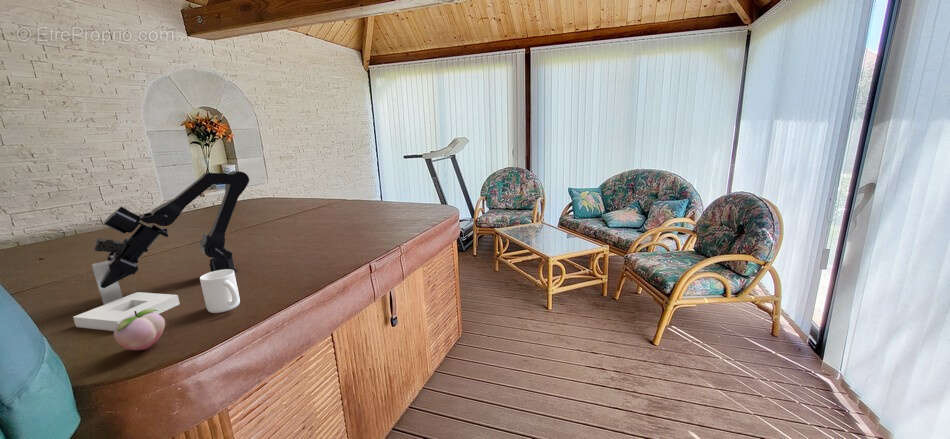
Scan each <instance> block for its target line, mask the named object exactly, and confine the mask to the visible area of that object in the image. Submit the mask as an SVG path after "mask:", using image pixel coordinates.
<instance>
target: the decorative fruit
mask: <svg viewBox="0 0 950 439" xmlns="http://www.w3.org/2000/svg"><path fill="white" fill-rule="evenodd" d="M153 311H158V310H156V309H146V310H143V311H140V312H138V313H136V311H134V313H135V314H134V315H131V316H129V317H127V318H125V319H123V320H122V321H121V322H120V323H119V324H118V325H117V326H116V328H115V330H114V331H113V338H114V340H115V342H116V343H117V344H118V345H119V346H121V347H122V348H124V349H126V350H129V351H144V350H147V349H149V348H150V347H152V345H154V344H155V343H156V342H157V341H158V340H159V339H160V338H161V336H162V334H163V332H164V330H165V327H166V320H165V318H164V317H163V316H162V315H161V314H157V313H153Z"/></svg>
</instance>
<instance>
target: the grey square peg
mask: <svg viewBox="0 0 950 439" xmlns="http://www.w3.org/2000/svg"><path fill="white" fill-rule="evenodd" d="M111 261H112V260H110V261H108V260H105V261H100V262H95V263H92V264H91V266H92V271H93V275H94V277H95V280H96V285H97V287H98V290H99V295H100V297H101V298H100V299H101V301H102V303H103V305H105V304H108V303H110V302H113V301H115V300H118V299H121V298H123V297H124V296H123V293H122V289H121V287H120V283H119V281H117V282H115V283H113V284H111V285H109V286H108V287H106V288H102V287H100V286H101V284H102V282H103V281H104V279H105V278H106V276H107V274H108V273H109V271H110V268H109V263H110V262H111Z"/></svg>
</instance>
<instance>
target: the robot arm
mask: <svg viewBox="0 0 950 439" xmlns="http://www.w3.org/2000/svg"><path fill="white" fill-rule="evenodd" d="M249 182H250V177H249V175H248V174H247V173H245V172H243V171H239V170H232V171H229V172H228V173H225V172H209V171H208V172H204V173H203V174H202V175H201V176H200V177H199V178H198V179H197V180H195V181H194V182H193V183H192V184H190V185H189V186H188V187H186V188H185V189H184V190H182V192H180V193H178V195H176V196H175V197H174V198H173V199H171V200H169V201H168V200H167V201H166V202H164V203H162V204H160V205H159V206H157V207H155V208H153V209H152V210H151V211H149V212H145V213H142V214H139V215H138V214H137V213H134V212H133V211H130V210H128V209H127V208H126V207H123V206H122V205H121V206H119V207H118V208H117V209H116V210H115V211H114V212H113V213H111V214H110V215H108V217H107V218H106V219H105V220H104V221H103V224H102V225H104V226H106V227H108V228H110V229H112V230H114V231H117V232H119V233H122V234H124V235H125V234H127V233H128V234H129V233H130V234H131V233H132V234H131V235H130V236H129V237H128V238H124V239H123V241H121V240H114V239H108V238H106V239H105V238H100V237H99V238H97V239H96V243H95V245H94V248H93V250H94V251H95V252H107V258H106V259H107V261H110V260H112V261H111V262H110V263H109V268H110V271H109V273H108V274H107V276H106V278H105V279H104V281H103V282H102V284H101V286H100V287H102V288H106V287H108V286H109V285H111V284H113V283H115V282H117V281H118V282H119V281H120V280H123V279H125V278H126V277H128V276H131V275H135V274H136V273H137V272H138V271H139V266H138V263H139V261H140V259H141V257H143V255H144V254H145V253H147V252H149V248H150V247H151V246H152V245H153V243H155V241H156V240H157V239H158V238H159V237H160V235H161V236H163V237H165V238H168V237H169V234H168V228H167V227H168V226H170V225H172V224H173V223H174V222H175V221H176V220H177V219H178V218H179V217H180V215H181V213H182V212H183V211H184V210H185V208H186V207H187V206H188V205H190V204H191V203H192V202H193V201H194V200H195V199H197V198H198V197H199V196H201V195H202V194H203V193H204V192H205V191H206V190H208V189H209V188H210V187H212V186H213V185H215V184H217V185H224V186H225V187H224V196H223V198H222V200H221V203H220V206H219V208H218V211H217V213H216V217H215V219H214V222H213V224H212V227H211V230H210V231H209V232H208V233H202V236H201V240H200V242H198V244H199V245H200V251H201V252H202V253H203V254H204V255H206V256H207V258H208V257H209V258H211V259H209V270H210V272H213V271H217V270H224V269H231V270H234V273H236V272H237V271H238V268H235V263H234V258H233V253H232V252H231V251H230V250H228V249H227V248H226V247H225V244H226V232H227V229H228V226H229V224H230V221H231V218H232V215H233V213H234V210H235V209H236V208H235V207H236V204H237V202H238V199H239V197H240V196H241V195H242V194H243V193H244V192H245V190H246V188H247V187H248V185H249ZM148 224H150V225H148ZM161 227H162V228H161ZM163 227H164V228H163Z"/></svg>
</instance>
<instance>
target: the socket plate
mask: <svg viewBox="0 0 950 439" xmlns="http://www.w3.org/2000/svg"><path fill="white" fill-rule="evenodd" d="M122 297H123V298H121V299H118V300H115V301H113V302H110V303H108V304H105V305H104V304H103V305H100V306H98V307H97V306H96V307H94V308H93V309H89V310H88V311H84V312H82V313H79V314H77V315H75V316H72V318H73V321H74V325H75V327H76V328H82V329H90V330H91V329H92V330H101V331H102V330H103V331H110V332H114V330H115V328H116V326H117V325H118V324H119V323H120V322H121V321H122V320H123V319H125V318H127V317H129V316H131V315H134V314H135V313H134V311H136V313H138V312H140V311H143V310H146V309H156V310H158V311H153V313H157V314H159V315H161V314H162V313H163V312H166V311H168V310H170V309H173V308H175V307H177V306H179V305H180V300H179V295H178V294H170V293H169V294H168V293H166V294H165V293H156V292H155V293H154V292H153V293H152V292H144V291H143V292H142V291H141V292H140V291H139V292H138V291H137V292H134V293H131V294H129V295H126V296H122Z"/></svg>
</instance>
